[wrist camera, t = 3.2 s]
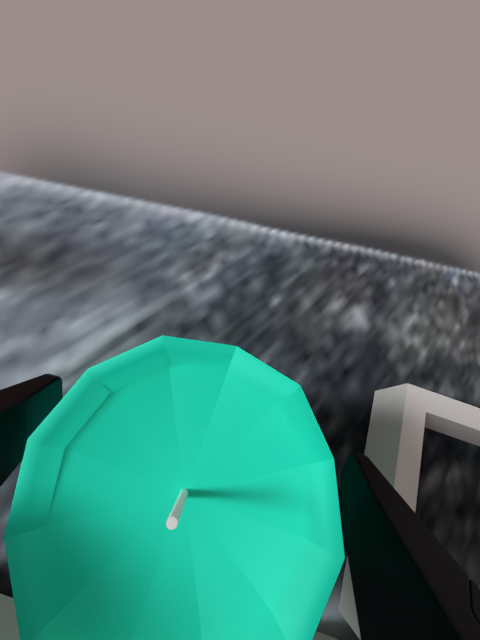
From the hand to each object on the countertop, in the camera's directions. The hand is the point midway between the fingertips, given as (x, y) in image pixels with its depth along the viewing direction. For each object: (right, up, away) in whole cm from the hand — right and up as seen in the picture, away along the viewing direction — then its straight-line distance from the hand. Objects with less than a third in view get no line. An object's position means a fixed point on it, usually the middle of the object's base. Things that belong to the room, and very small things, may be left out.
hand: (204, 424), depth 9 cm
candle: (-1, -4, +6) cm, 7 cm away
